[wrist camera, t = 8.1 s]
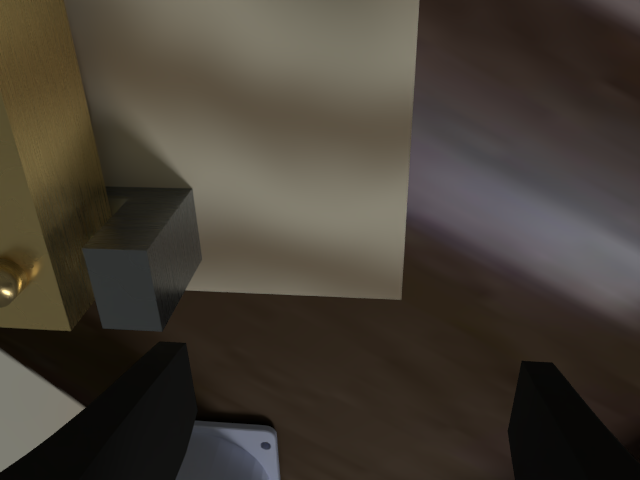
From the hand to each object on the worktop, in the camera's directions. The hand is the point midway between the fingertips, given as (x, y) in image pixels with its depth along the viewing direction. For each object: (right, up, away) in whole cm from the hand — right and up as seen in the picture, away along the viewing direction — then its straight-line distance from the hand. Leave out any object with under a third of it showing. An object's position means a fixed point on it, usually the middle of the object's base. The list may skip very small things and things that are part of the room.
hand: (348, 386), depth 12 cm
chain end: (-9, +4, +9) cm, 14 cm away
